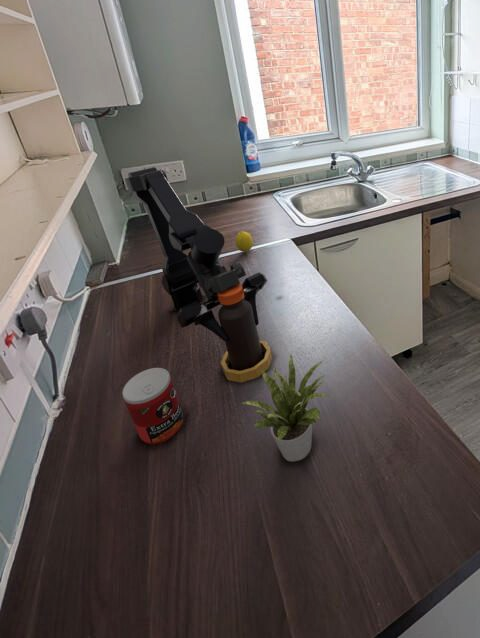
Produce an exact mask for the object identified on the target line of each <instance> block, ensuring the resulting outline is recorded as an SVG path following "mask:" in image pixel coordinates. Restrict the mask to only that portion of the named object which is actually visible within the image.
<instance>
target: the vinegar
mask: <svg viewBox="0 0 480 638" xmlns="http://www.w3.org/2000/svg"><path fill="white" fill-rule="evenodd" d="M217 294H218V298H219V300H218V301H220V306H221V307H220V308H219V309H218V313H217V317H218V321H219V325H220V326H221V328H222V329H223V331H224V332H225V334H226V336H227V338H228V341H227V342H225V341H224V343H225V347H226V351H228V355H229V358H230V366H231V369H232V370H237V371H242V370H245V369H249V368H252V367H254V366H256V365H257V364H258V363H259V362H261V361H262V360H263V359H264V355H263V351H262V350H261V346H260V341H261V340H260V337H259V333H258V328H257V325H256V323H255V319H254V314H253V310H252V306H251V304H250V302H248V301H246V300H244V292H243V288H242V284H241V283H240V284H238V285H236V286H231V287H229V288H227V289H226V290H225V291H223V292H221V293H217ZM259 340H260V341H259Z"/></svg>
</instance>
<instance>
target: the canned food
mask: <svg viewBox="0 0 480 638" xmlns="http://www.w3.org/2000/svg"><path fill="white" fill-rule="evenodd" d="M122 398H123V401H124V404H125V406H126V408H127V411H128V413H129V415H130V417H131V420H132V422H133V424H134V427H135V430H136V431H137V434H138V436H139V438H140V440H142V441H143V442H144V443H145V444H148V445H157V444H162V443H164V442H166V441H169V440H170V439H171V438H172V437H174V436H175V435H176V434H177V433H178V432H179V430H180V429H181V428H182V427H183V426H182V425H183V423H184V412H183V409H182V406H181V403H180V400H179V397H178V394H177V392H176V389H175V386H174V382H173V380H172V377H171V375H170V373H169V371H168V370H167V369H165V368H163V367H153V368H148V369H145V370H143V371H141V372H138V373H137V374H135V375H134V376H132V377H131V378H130V379H129V380H128V381H127V382H126V383H125V385H124V387H123V389H122Z"/></svg>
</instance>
